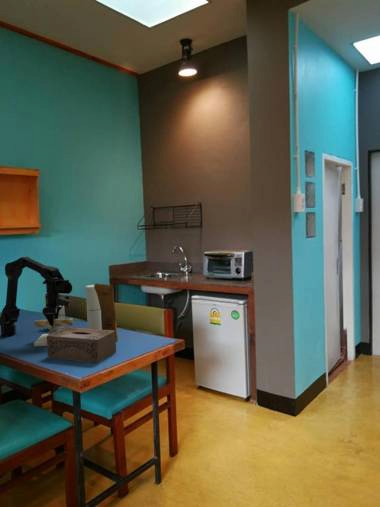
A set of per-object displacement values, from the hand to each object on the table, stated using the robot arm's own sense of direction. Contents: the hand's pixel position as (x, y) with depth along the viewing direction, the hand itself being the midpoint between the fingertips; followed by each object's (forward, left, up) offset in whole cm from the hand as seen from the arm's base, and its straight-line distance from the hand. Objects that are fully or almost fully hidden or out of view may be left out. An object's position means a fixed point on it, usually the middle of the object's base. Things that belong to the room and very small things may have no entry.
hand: (54, 323), depth 200 cm
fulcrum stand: (0, 0, -9) cm, 9 cm away
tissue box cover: (+17, -25, -9) cm, 32 cm away
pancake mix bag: (+27, -2, -9) cm, 28 cm away
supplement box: (-5, +25, -9) cm, 27 cm away
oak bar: (0, 0, -1) cm, 1 cm away
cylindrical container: (+18, +12, -9) cm, 23 cm away
